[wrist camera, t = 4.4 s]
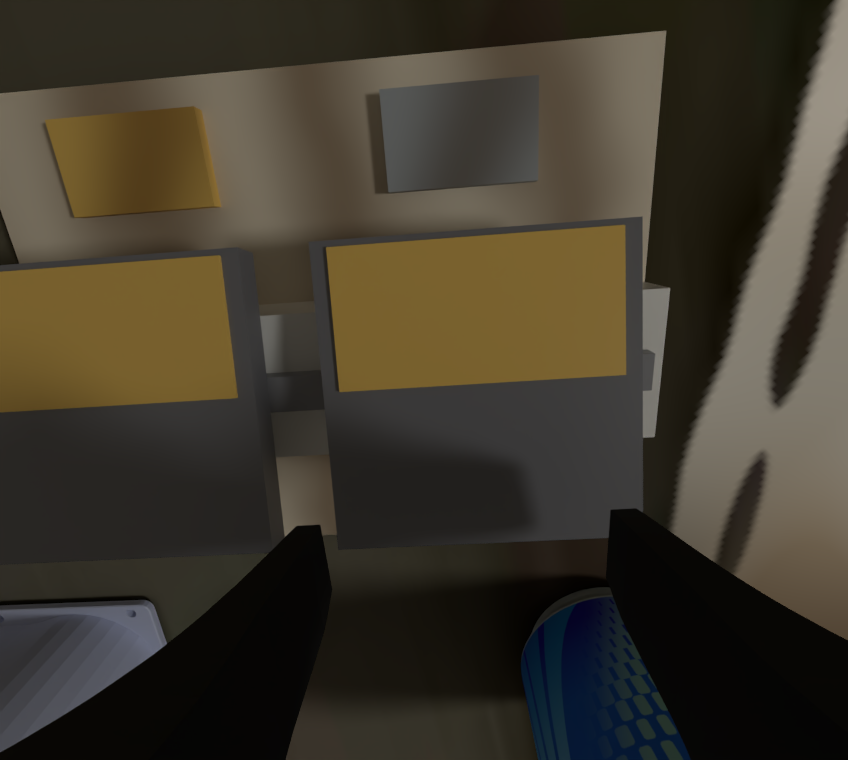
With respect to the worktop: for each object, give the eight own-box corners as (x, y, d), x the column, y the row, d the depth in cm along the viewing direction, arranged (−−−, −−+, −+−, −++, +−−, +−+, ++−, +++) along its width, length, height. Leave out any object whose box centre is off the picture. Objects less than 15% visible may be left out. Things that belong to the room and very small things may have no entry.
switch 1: (20, 548, 15) (-14, 567, 14) (-33, 274, 13) (-75, 269, 12) (284, 536, 14) (271, 554, 13) (252, 252, 13) (235, 246, 12)
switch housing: (108, 426, 19) (22, 477, 15) (72, 314, 18) (-36, 338, 14) (611, 397, 18) (661, 443, 14) (620, 276, 17) (679, 289, 13)
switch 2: (345, 533, 14) (337, 551, 13) (318, 247, 13) (307, 240, 12) (628, 520, 14) (644, 538, 13) (626, 224, 13) (644, 215, 11)
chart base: (132, 530, 21) (111, 551, 20) (-11, 105, 15) (-56, 93, 14) (614, 507, 20) (628, 528, 19) (651, 43, 14) (674, 23, 13)
